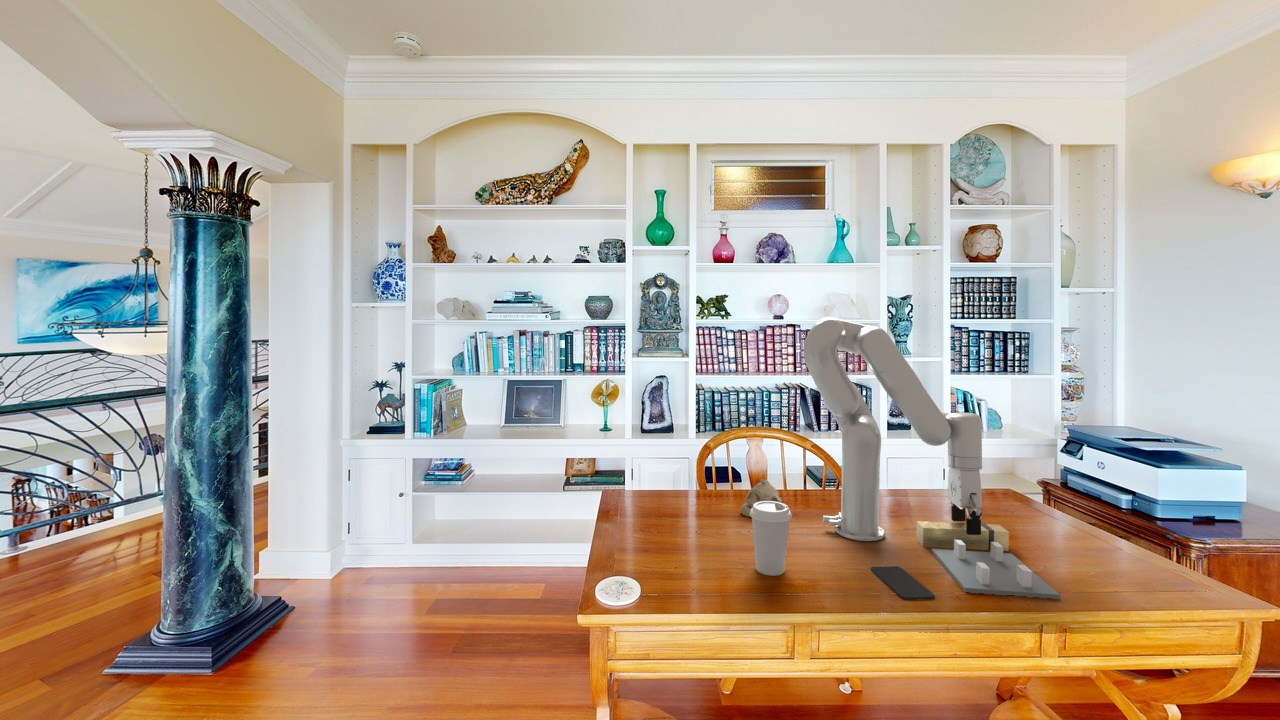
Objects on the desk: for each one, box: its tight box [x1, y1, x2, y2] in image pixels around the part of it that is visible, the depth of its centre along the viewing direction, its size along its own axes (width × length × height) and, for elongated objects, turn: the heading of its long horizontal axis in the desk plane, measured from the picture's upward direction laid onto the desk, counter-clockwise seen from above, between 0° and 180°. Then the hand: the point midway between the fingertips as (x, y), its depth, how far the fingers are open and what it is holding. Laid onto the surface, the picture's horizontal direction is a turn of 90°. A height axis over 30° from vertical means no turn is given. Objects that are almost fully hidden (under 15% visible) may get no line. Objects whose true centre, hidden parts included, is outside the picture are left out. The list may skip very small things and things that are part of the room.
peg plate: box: [931, 540, 1061, 600], centre depth 126 cm, size 18×21×4 cm
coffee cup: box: [749, 501, 793, 577], centre depth 129 cm, size 10×10×15 cm
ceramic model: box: [739, 478, 783, 518], centre depth 169 cm, size 14×11×10 cm
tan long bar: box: [915, 520, 1010, 552], centre depth 143 cm, size 20×5×5 cm, turn 81°
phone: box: [870, 565, 936, 601], centre depth 122 cm, size 7×1×15 cm
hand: (965, 527), depth 142 cm, fingers open, 9 cm apart
